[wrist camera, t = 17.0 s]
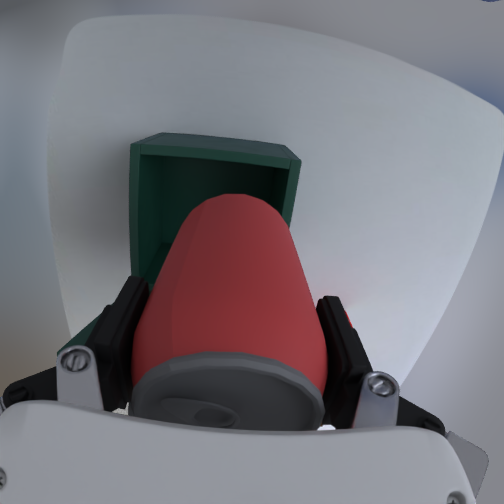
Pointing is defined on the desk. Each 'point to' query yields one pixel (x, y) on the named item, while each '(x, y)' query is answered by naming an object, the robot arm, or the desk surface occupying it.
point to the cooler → (198, 186)
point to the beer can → (231, 327)
